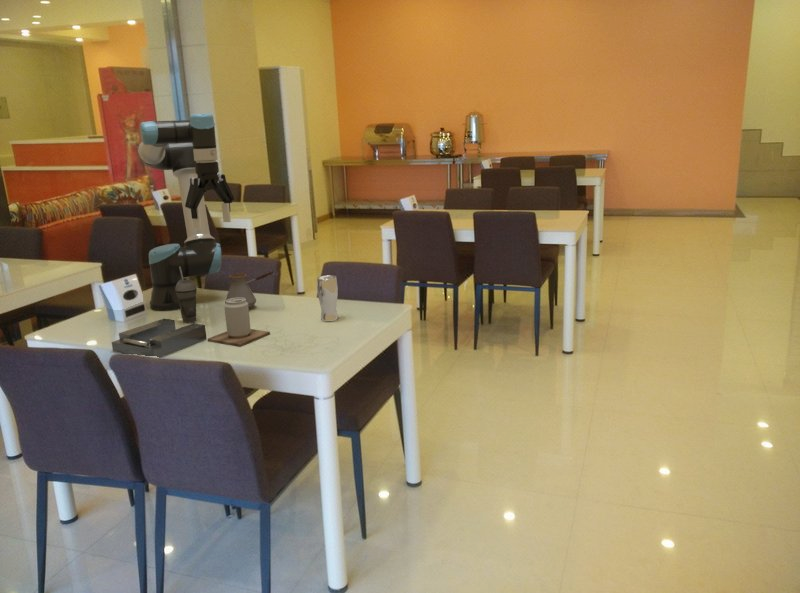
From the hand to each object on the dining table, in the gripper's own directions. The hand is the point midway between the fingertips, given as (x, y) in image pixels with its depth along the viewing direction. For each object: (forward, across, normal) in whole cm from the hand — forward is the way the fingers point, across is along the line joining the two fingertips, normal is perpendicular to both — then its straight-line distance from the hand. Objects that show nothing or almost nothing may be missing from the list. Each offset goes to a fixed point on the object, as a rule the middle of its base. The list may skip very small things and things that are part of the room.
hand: (212, 225), depth 235 cm
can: (+33, -12, -19) cm, 40 cm away
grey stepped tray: (+34, -29, -1) cm, 44 cm away
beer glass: (+34, +17, -34) cm, 51 cm away
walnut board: (+34, -12, -19) cm, 41 cm away
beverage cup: (+34, -5, +11) cm, 36 cm away
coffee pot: (+34, +17, +1) cm, 38 cm away
